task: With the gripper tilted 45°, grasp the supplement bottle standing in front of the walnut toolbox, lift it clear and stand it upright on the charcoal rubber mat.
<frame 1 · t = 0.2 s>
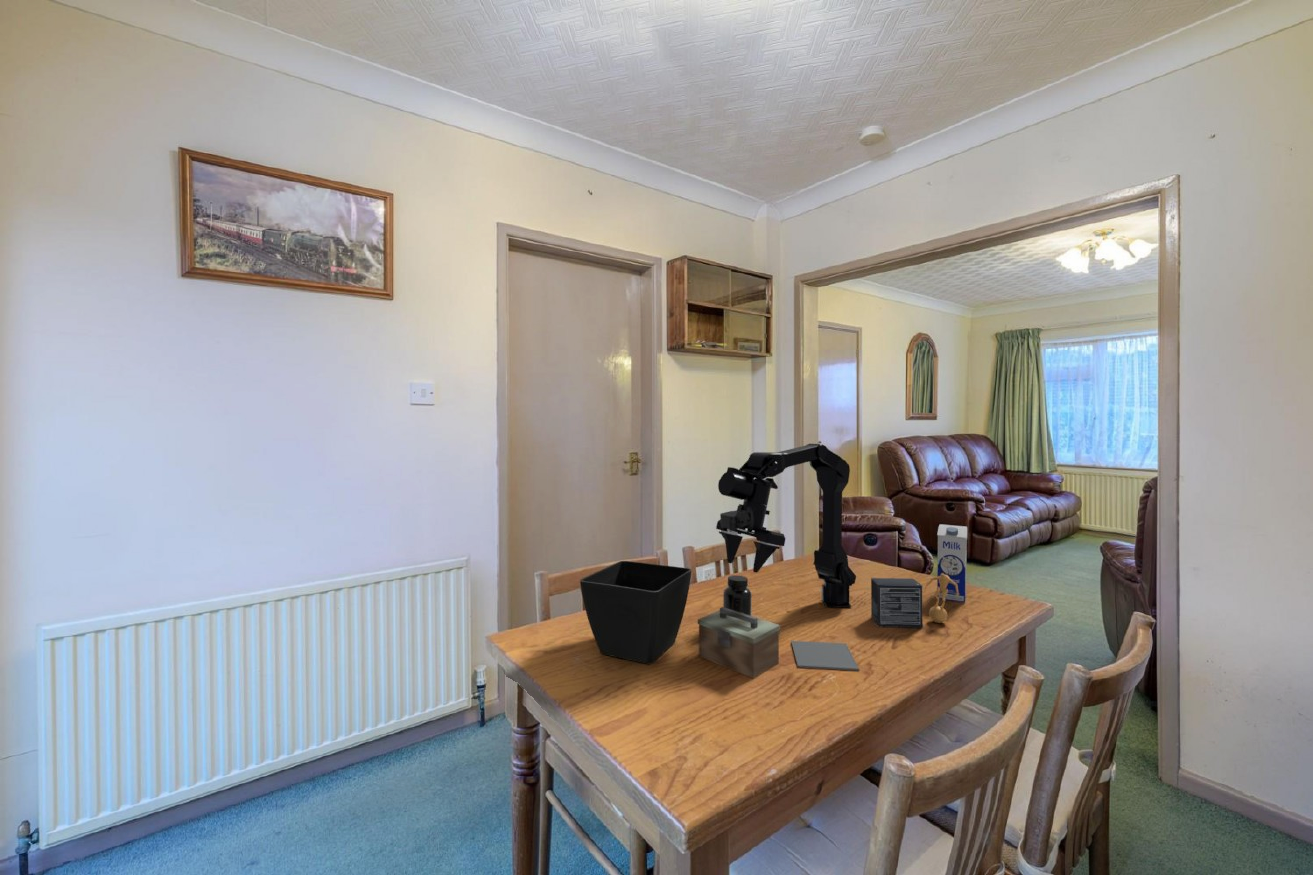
hand: (742, 567, 126), 15 cm above the table, tool tilted 15°, fingers open, 9 cm apart
toolbox: (738, 659, 112), on the table
flower pot: (638, 649, 118), on the table
milk carton: (951, 597, 149), on the table
small box: (896, 623, 131), on the table
mat: (823, 655, 113), on the table
figurine: (940, 622, 131), on the table
supplement bottle: (737, 627, 130), on the table
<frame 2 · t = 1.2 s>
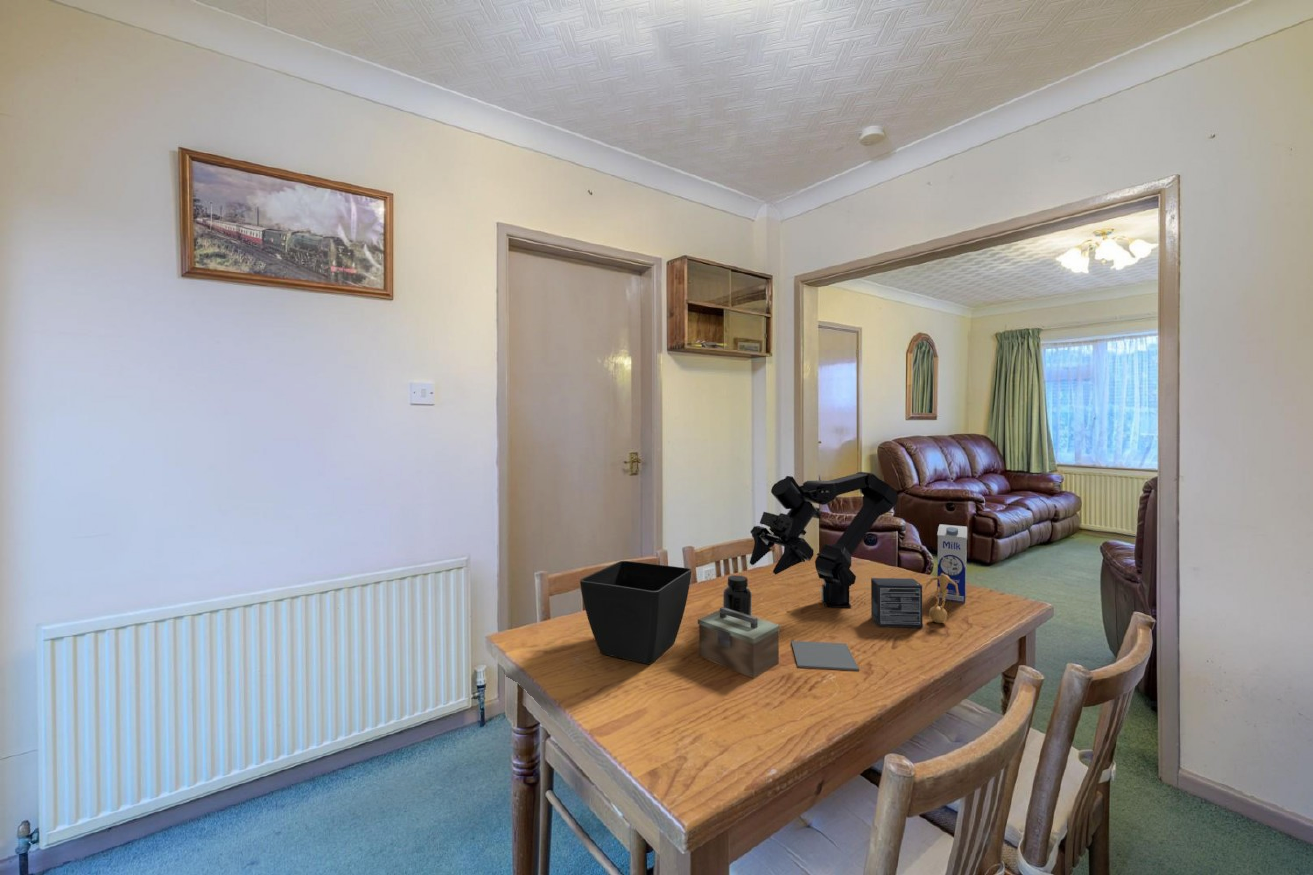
hand: (762, 568, 132), 13 cm above the table, tool tilted 45°, fingers open, 9 cm apart
nothing on the table moved.
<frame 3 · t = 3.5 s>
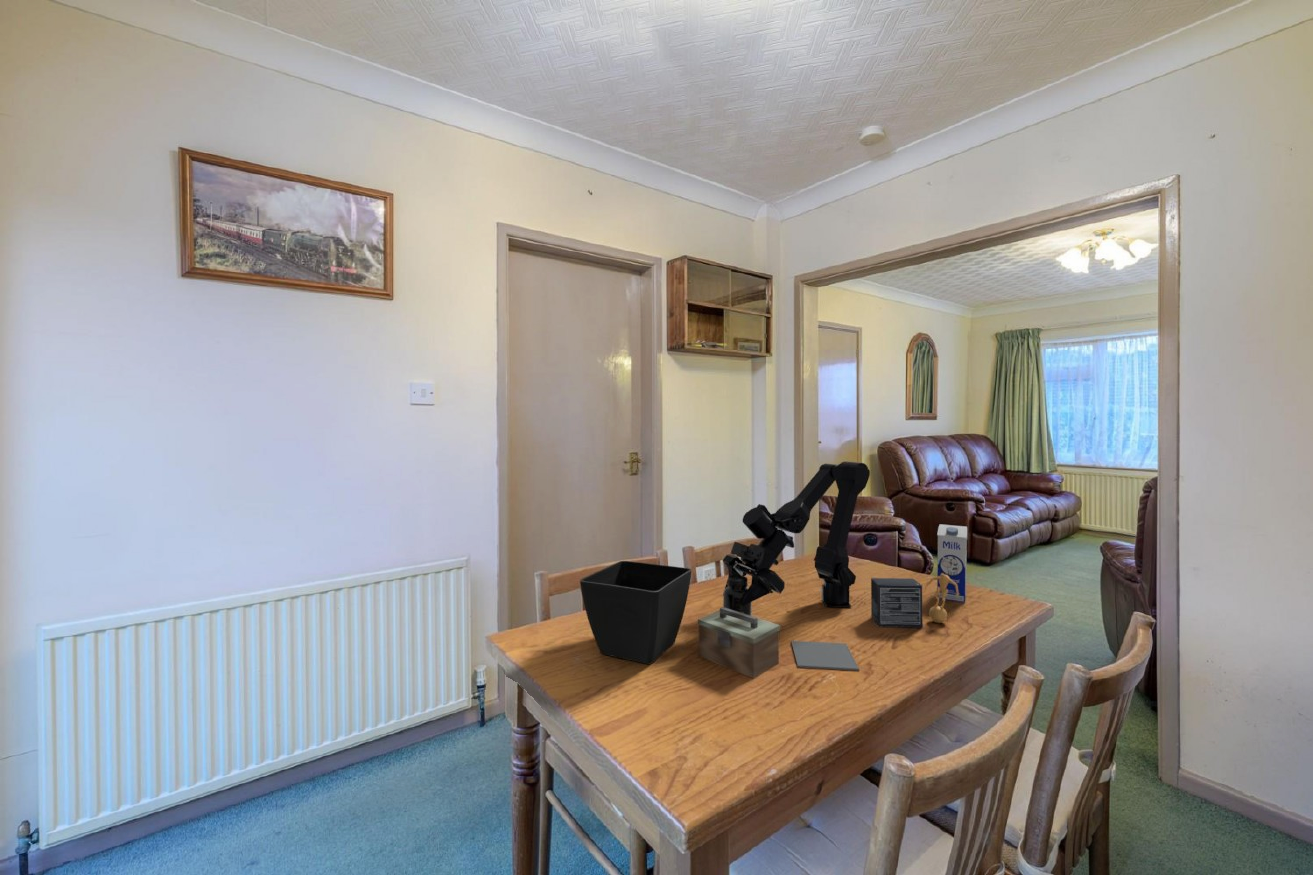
hand: (732, 600, 129), 7 cm above the table, tool tilted 45°, fingers closed on supplement bottle, 7 cm apart
supplement bottle: (737, 626, 130), on the table, touching gripper
everything else where it was.
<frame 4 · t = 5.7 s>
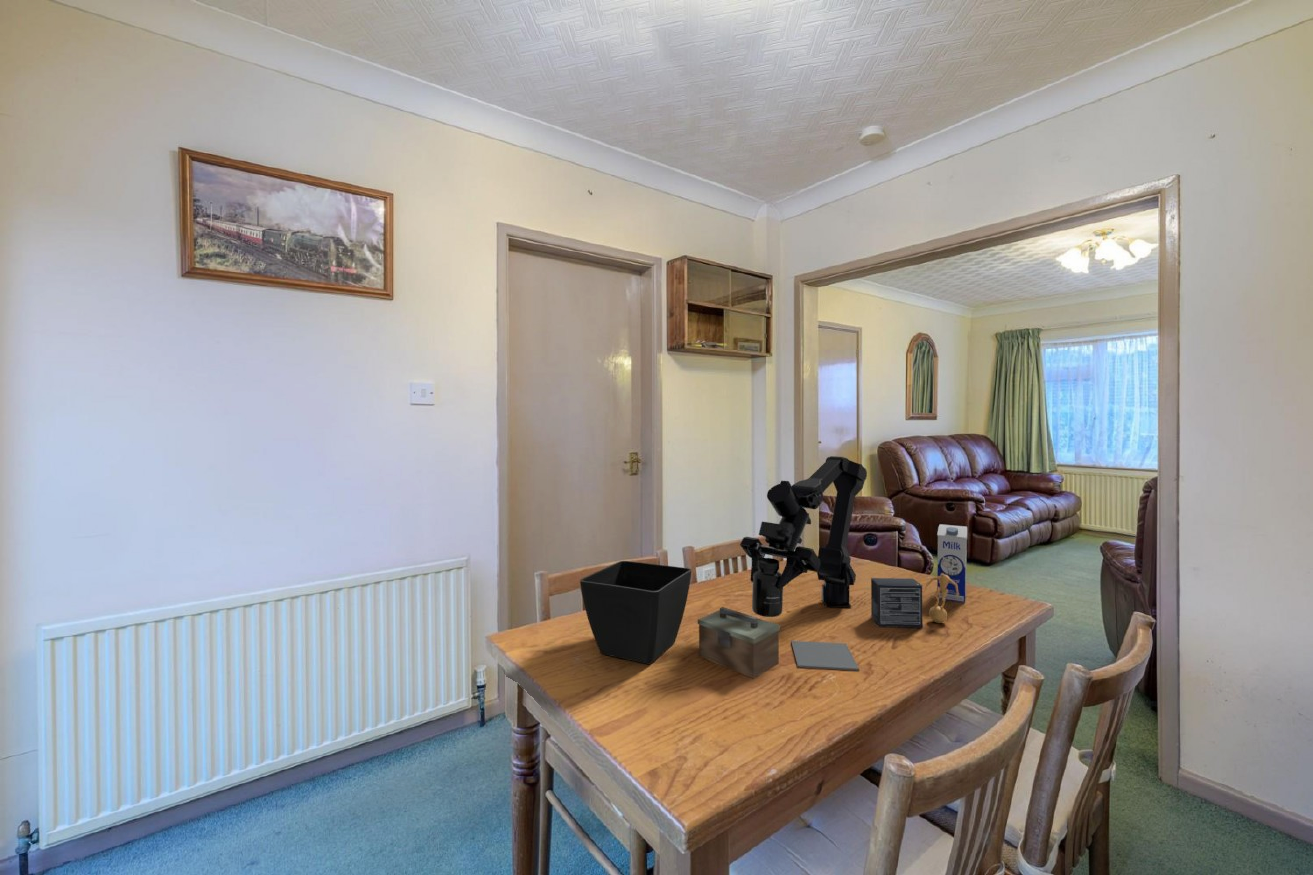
hand: (764, 584, 119), 13 cm above the table, tool tilted 45°, fingers closed on supplement bottle, 7 cm apart
supplement bottle: (767, 612, 121), point 6 cm above the table, touching gripper
everything else where it was.
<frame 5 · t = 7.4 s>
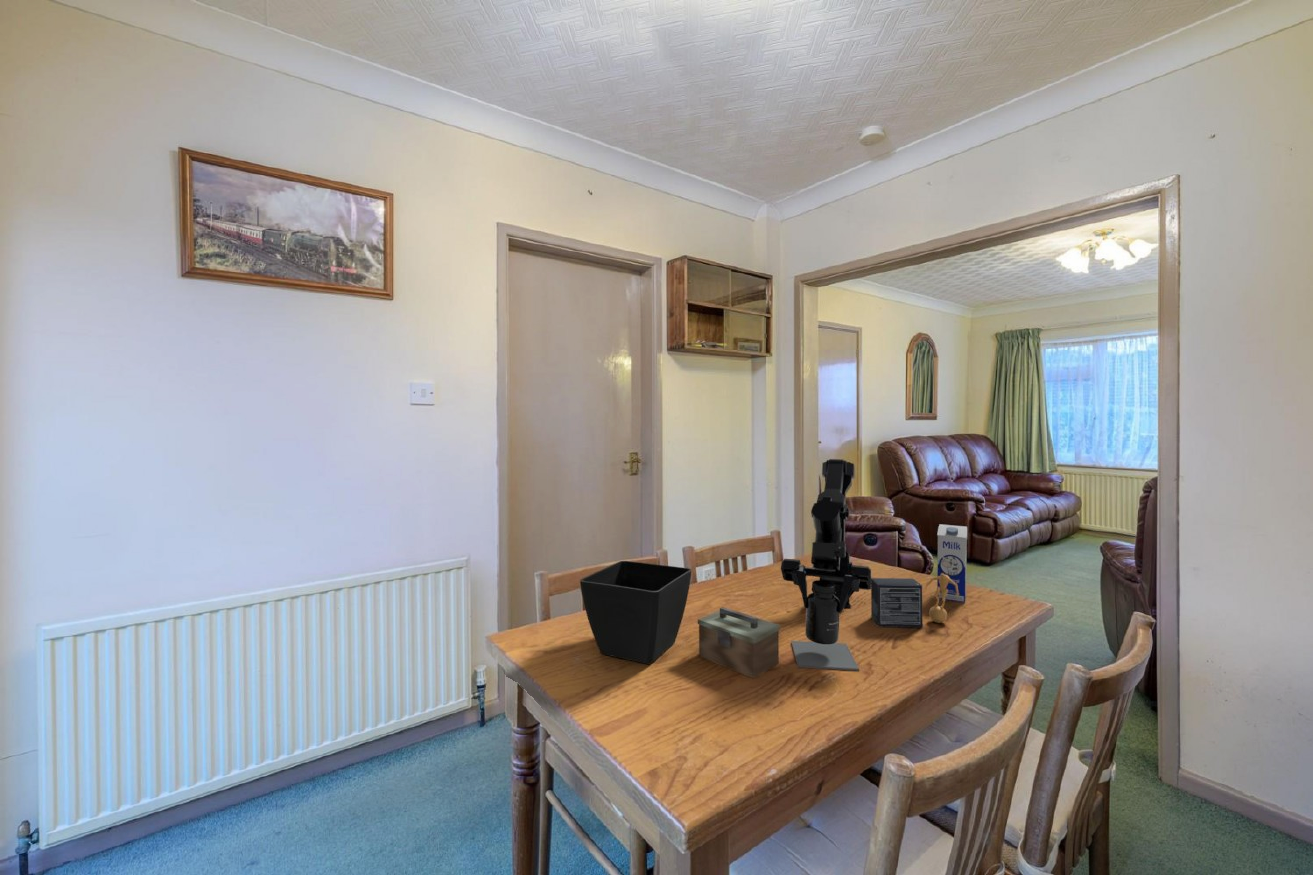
hand: (822, 609, 112), 10 cm above the table, tool tilted 45°, fingers closed on supplement bottle, 7 cm apart
supplement bottle: (821, 639, 113), point 3 cm above the table, touching gripper
everything else where it was.
when the fingers open (8 cm above the table, at t = 8.5 s): supplement bottle stays where it is, resting on mat.
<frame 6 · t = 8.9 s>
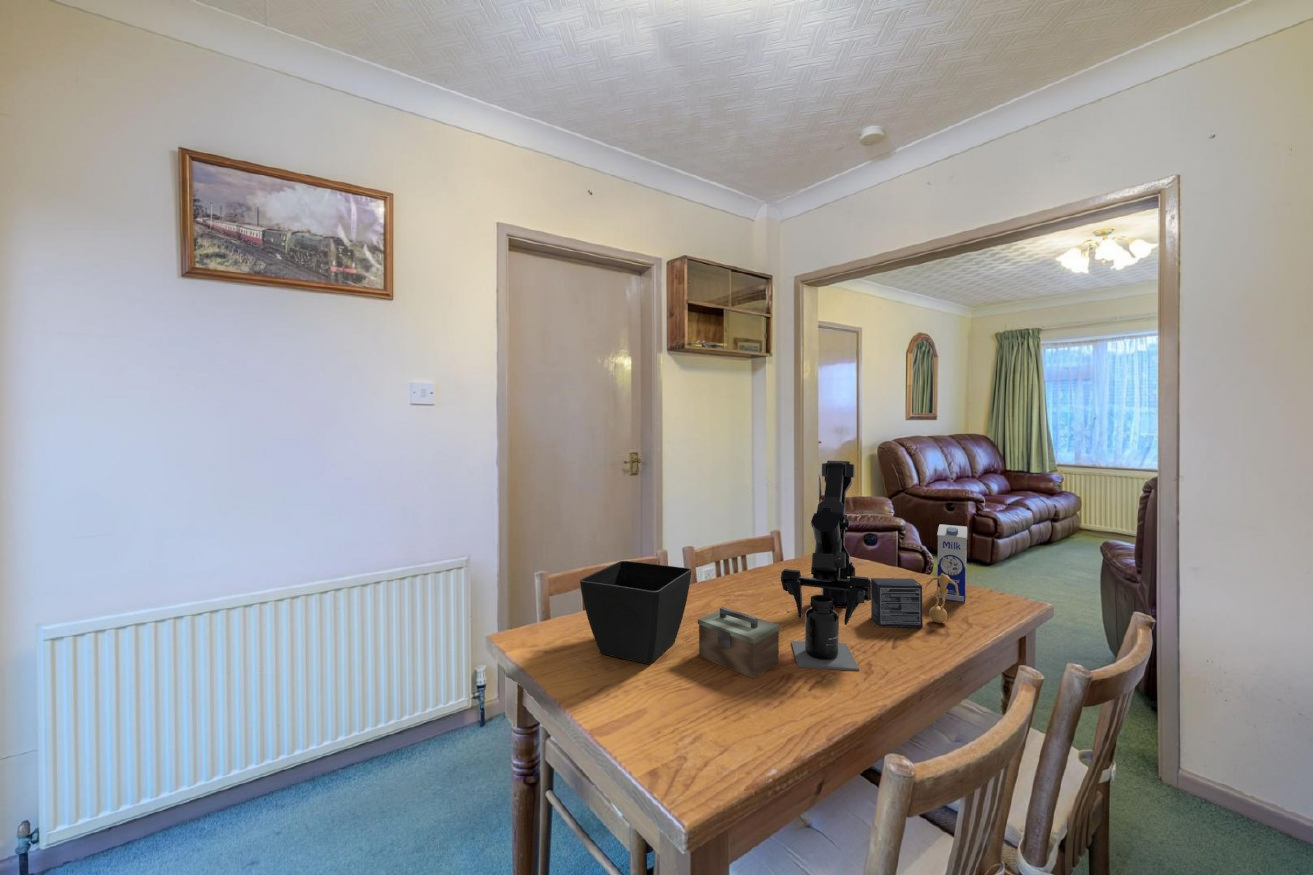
hand: (822, 620, 112), 8 cm above the table, tool tilted 45°, fingers open, 9 cm apart
supplement bottle: (821, 654, 113), resting on mat
everything else where it was.
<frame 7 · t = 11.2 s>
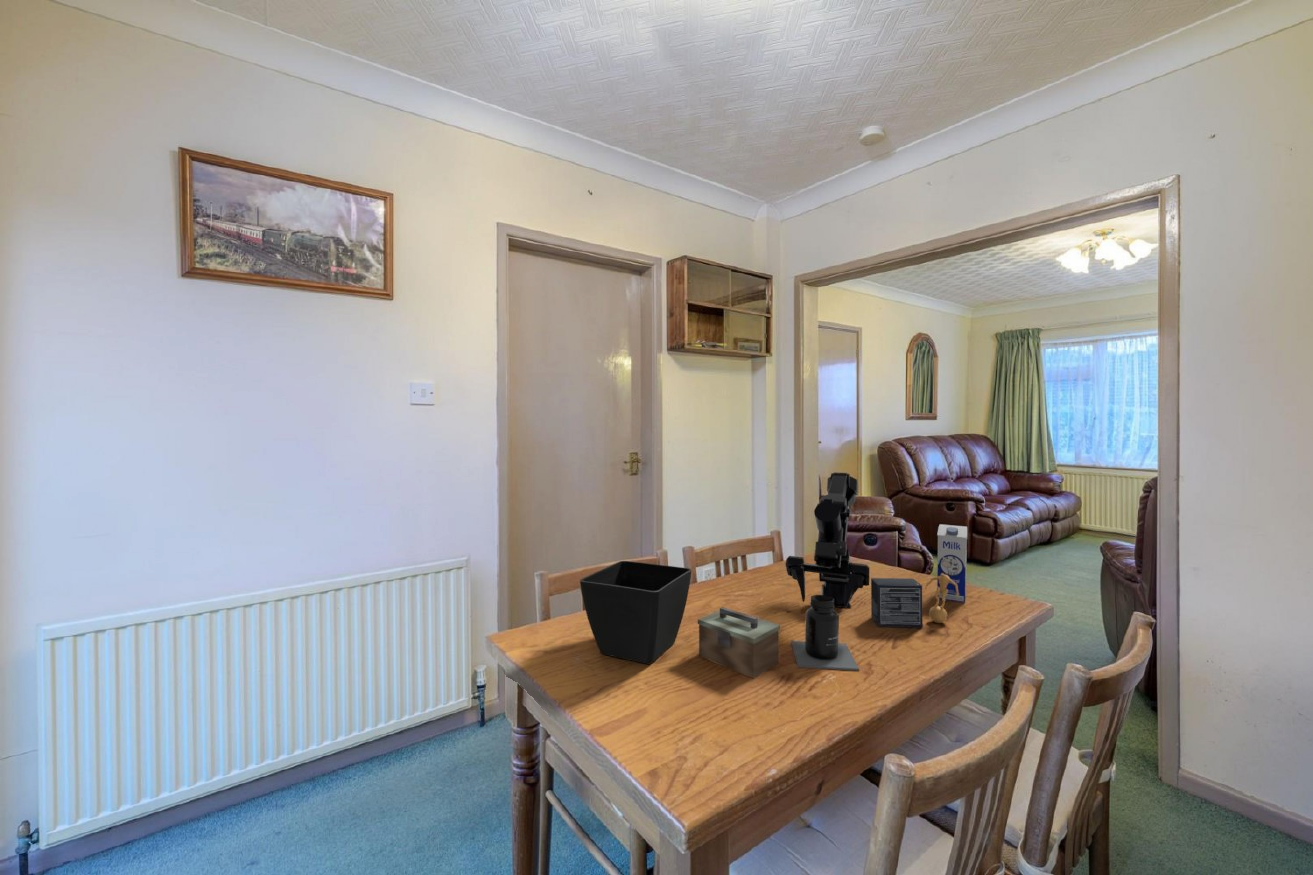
hand: (823, 604, 121), 8 cm above the table, tool tilted 45°, fingers open, 9 cm apart
nothing on the table moved.
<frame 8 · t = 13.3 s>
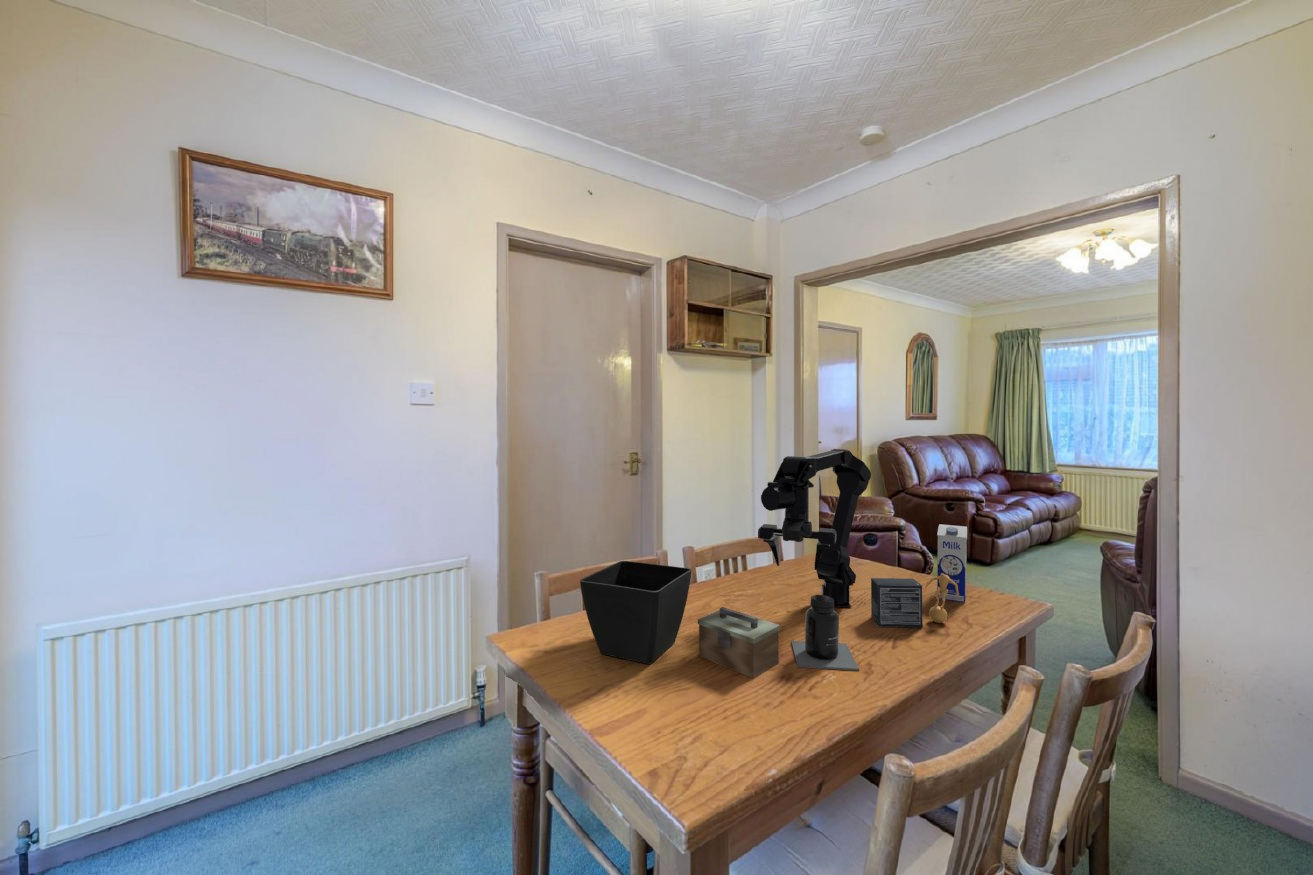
hand: (796, 567, 134), 13 cm above the table, tool pointing down, fingers open, 9 cm apart
nothing on the table moved.
at the end: supplement bottle inside the target area on the mat (0.3 cm from its centre), point 0.2 cm above the mat's base; supplement bottle tilted 0°; the gripper is holding nothing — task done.
